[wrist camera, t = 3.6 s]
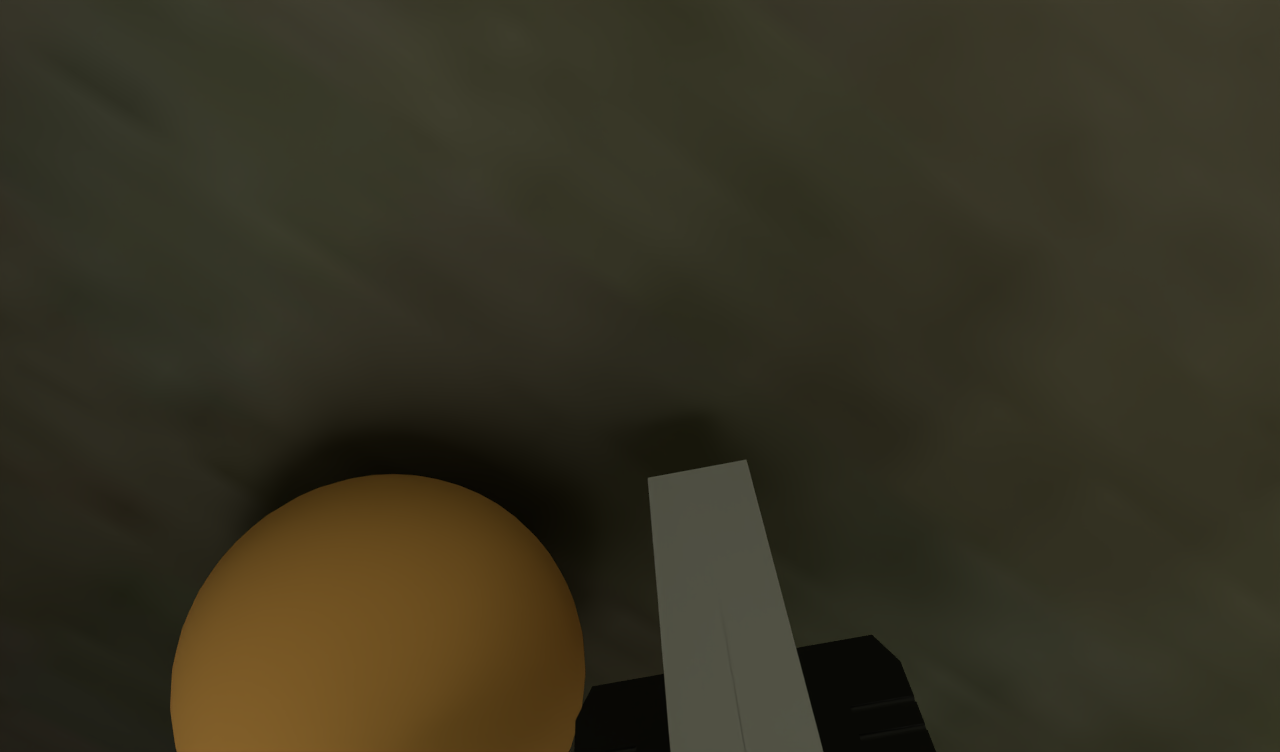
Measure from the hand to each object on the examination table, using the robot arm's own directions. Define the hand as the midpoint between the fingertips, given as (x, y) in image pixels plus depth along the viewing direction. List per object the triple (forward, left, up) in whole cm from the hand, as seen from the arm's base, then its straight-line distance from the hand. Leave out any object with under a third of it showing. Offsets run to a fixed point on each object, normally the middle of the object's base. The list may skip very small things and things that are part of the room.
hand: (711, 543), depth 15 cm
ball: (-1, +5, +1) cm, 5 cm away
